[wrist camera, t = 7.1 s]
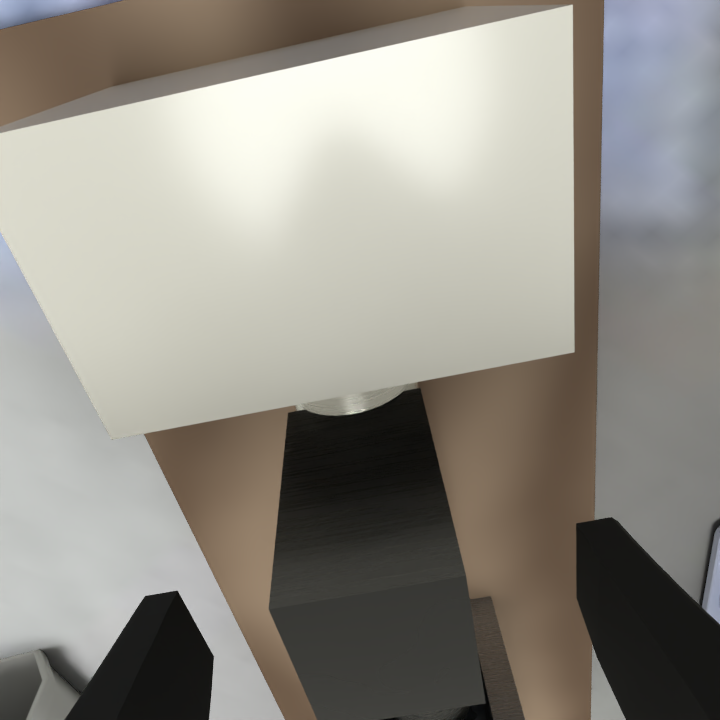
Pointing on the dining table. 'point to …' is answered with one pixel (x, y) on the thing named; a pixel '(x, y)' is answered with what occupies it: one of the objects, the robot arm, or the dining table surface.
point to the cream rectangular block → (306, 218)
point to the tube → (33, 689)
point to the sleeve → (492, 668)
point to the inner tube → (372, 564)
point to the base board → (441, 395)
